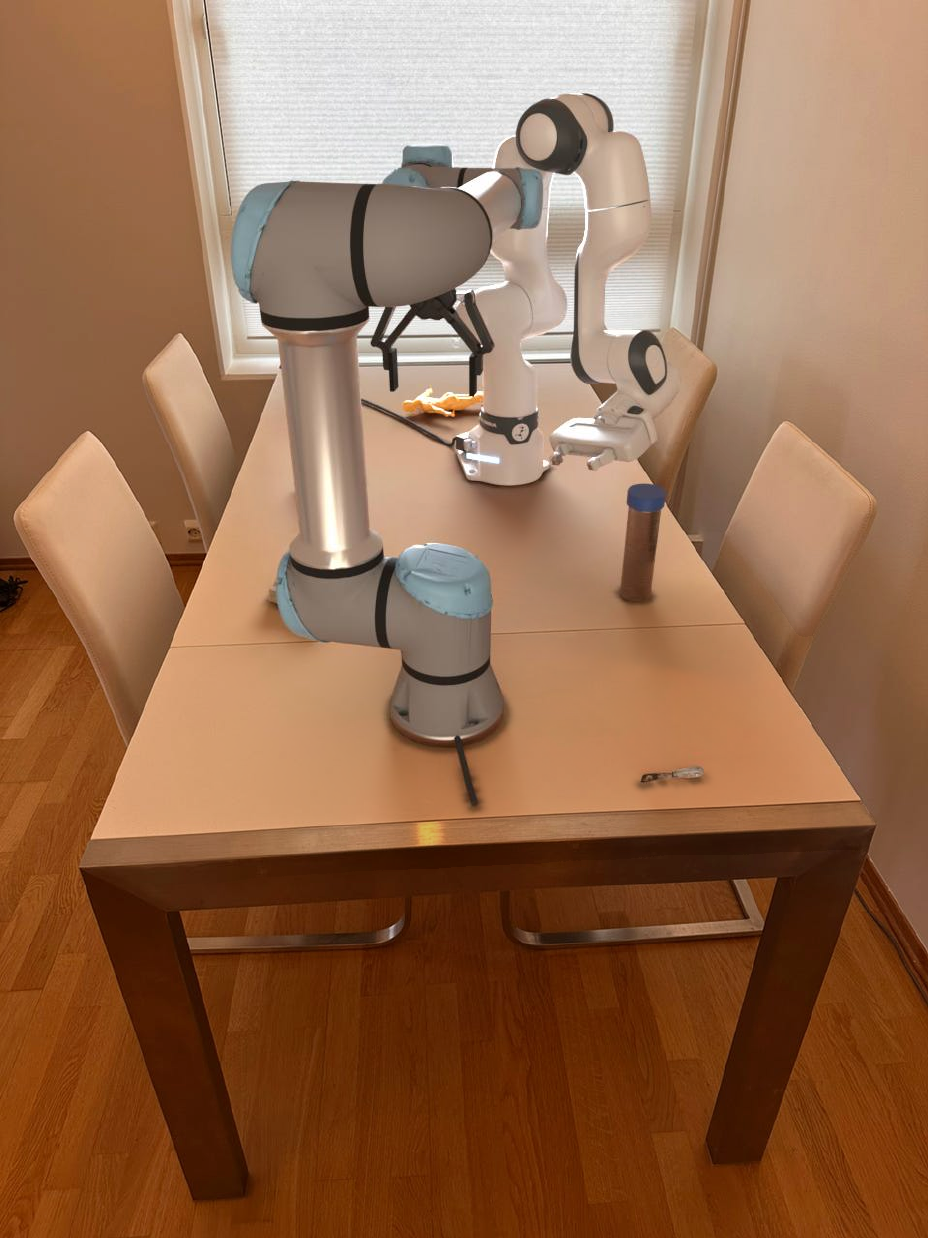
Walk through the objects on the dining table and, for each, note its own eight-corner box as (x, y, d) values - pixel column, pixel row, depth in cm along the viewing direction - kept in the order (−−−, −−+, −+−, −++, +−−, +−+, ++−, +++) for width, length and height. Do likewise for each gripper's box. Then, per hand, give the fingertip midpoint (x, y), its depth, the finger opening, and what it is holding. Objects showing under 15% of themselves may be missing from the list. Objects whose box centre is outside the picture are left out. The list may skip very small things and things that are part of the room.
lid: (629, 494, 142) (631, 481, 141) (666, 498, 140) (668, 485, 139) (623, 509, 137) (624, 496, 136) (661, 513, 136) (663, 500, 134)
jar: (622, 585, 150) (632, 485, 141) (652, 589, 149) (664, 489, 139) (617, 599, 146) (627, 497, 136) (648, 604, 145) (660, 502, 135)
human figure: (395, 413, 223) (394, 398, 221) (438, 390, 237) (438, 375, 235) (462, 429, 215) (462, 413, 213) (502, 404, 229) (503, 388, 227)
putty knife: (703, 777, 109) (705, 767, 109) (642, 788, 108) (644, 777, 107) (700, 772, 110) (702, 762, 109) (639, 782, 109) (640, 771, 108)
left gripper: (513, 255, 139) (510, 389, 150) (360, 249, 144) (368, 380, 155) (505, 264, 133) (502, 403, 144) (345, 258, 137) (355, 393, 149)
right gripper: (572, 404, 173) (526, 445, 167) (655, 410, 158) (608, 455, 152) (582, 432, 176) (537, 473, 171) (665, 440, 161) (618, 485, 156)
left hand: (433, 391), depth 149 cm, fingers open, 13 cm apart
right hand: (571, 464), depth 161 cm, fingers open, 8 cm apart
